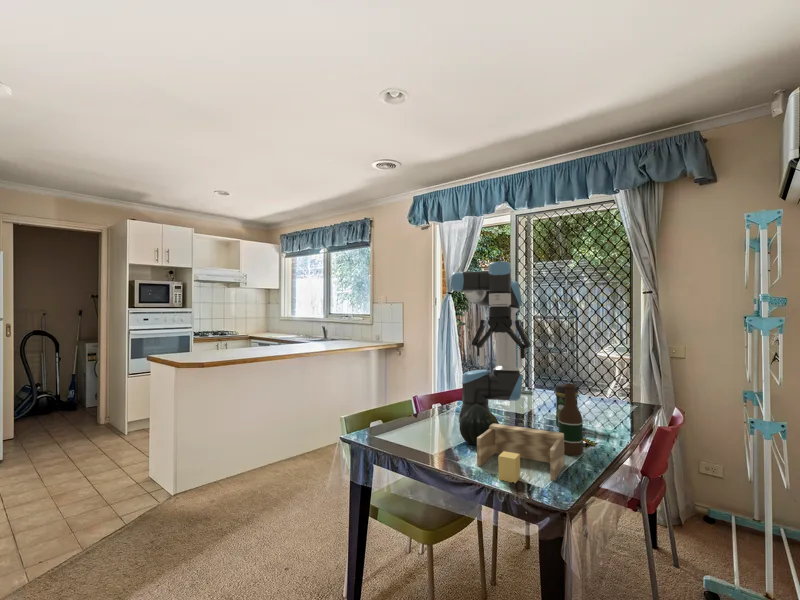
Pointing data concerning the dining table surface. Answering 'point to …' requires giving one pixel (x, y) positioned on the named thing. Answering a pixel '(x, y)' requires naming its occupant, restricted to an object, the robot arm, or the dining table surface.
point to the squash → (476, 423)
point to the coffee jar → (562, 399)
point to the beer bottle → (571, 423)
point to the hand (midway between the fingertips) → (500, 367)
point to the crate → (523, 445)
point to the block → (509, 466)
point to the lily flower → (587, 440)
